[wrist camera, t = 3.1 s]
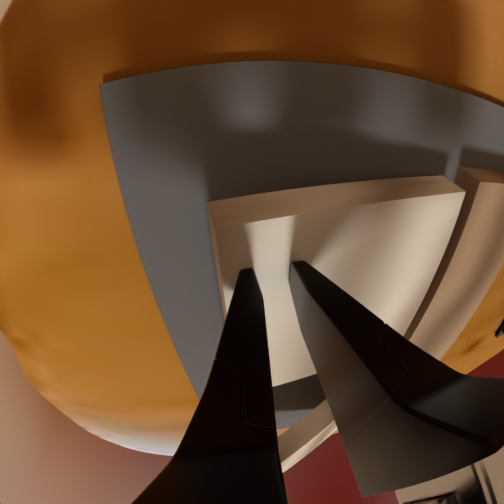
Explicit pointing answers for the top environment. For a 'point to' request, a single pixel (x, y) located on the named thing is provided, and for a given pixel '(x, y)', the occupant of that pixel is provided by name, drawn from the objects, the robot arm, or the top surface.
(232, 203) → the light beige plank
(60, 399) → the top surface
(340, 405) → the robot arm
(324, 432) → the beige flat square block
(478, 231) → the light brown plank
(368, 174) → the underlay
